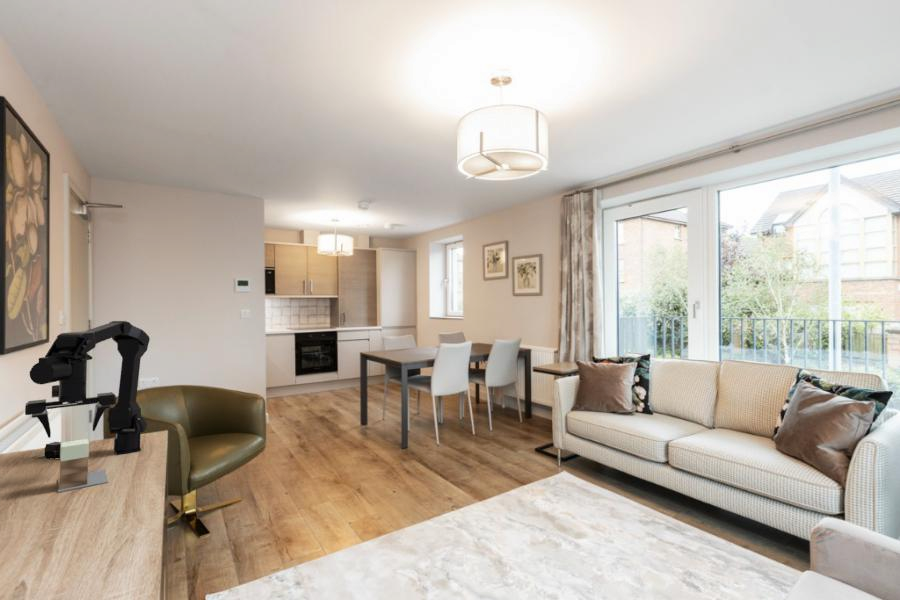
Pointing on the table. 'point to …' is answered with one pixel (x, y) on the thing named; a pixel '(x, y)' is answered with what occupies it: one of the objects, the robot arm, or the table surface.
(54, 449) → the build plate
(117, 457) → the table surface
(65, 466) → the walnut block upper
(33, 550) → the table surface
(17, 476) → the table surface
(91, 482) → the slate mat
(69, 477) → the walnut block lower
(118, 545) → the table surface
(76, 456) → the sage block
